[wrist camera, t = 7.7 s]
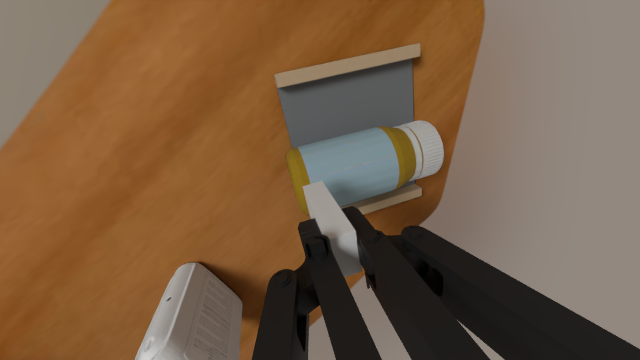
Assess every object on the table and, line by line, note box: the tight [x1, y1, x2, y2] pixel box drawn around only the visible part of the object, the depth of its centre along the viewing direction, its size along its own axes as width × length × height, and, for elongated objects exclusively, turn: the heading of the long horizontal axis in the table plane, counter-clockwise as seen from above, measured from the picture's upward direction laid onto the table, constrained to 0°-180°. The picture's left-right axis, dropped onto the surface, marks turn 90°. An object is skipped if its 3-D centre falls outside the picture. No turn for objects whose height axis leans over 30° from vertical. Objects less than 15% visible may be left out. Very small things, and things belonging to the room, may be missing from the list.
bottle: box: [286, 120, 444, 215], centre depth 25 cm, size 7×7×15 cm
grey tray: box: [274, 43, 422, 219], centre depth 27 cm, size 15×18×2 cm
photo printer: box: [135, 262, 242, 360], centre depth 25 cm, size 10×4×12 cm, turn 29°
